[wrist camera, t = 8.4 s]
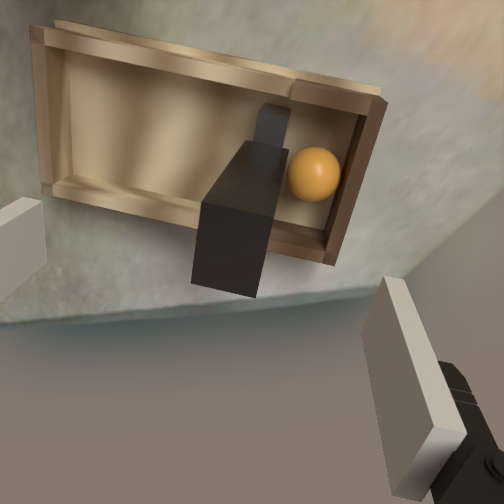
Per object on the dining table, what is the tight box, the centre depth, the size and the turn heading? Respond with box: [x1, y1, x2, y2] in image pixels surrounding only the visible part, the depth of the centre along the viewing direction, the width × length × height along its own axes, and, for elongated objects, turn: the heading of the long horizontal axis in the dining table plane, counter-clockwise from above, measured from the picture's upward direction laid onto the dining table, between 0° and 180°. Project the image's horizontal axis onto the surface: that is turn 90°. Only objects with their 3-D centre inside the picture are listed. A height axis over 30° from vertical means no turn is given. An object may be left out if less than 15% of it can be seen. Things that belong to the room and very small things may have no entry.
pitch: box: [29, 19, 388, 266], centre depth 30 cm, size 24×13×5 cm, turn 80°
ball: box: [286, 147, 341, 202], centre depth 30 cm, size 4×4×4 cm
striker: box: [191, 103, 292, 298], centre depth 24 cm, size 3×8×16 cm, turn 170°
